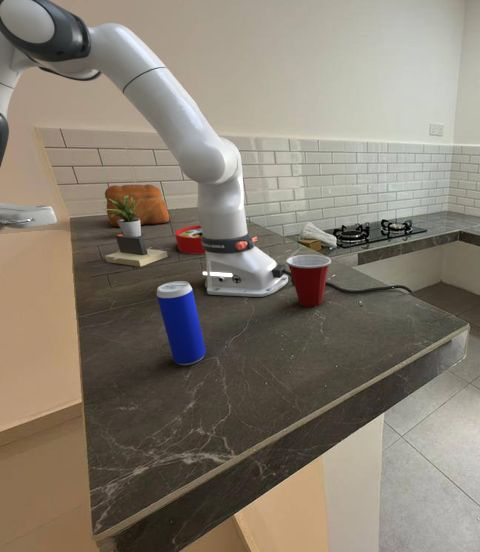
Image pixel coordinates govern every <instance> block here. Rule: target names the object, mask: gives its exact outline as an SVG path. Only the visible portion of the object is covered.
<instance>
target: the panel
mask: <svg viewBox="0 0 480 552" xmlns="http://www.w3.org/2000/svg"><path fill="white" fill-rule="evenodd" d="M152 248H153V246H150V247H148V248H146V249H147V253H148V254H146V255H137V254H130V253H123V252H120V249H118V250H117V251H116V252H113V253H111V254H107V255H104V258H105V262H106V263H112V264H120V265H127V266H132V267H133V266H134V267H144V266H146V265H150V264H152V263H155V262H157V261H160V260H163V259H166V258H168V257H169V255H168V251H167V250H161V249H152Z"/></svg>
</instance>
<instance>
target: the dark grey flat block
mask: <svg viewBox="0 0 480 552" xmlns="http://www.w3.org/2000/svg"><path fill="white" fill-rule="evenodd" d="M115 239H116V242H117V246H118V250H119V252H123V253H130V254H137V255H146V254H148V253H147V249H148V248H147V245H146V242H145V237H141V236H138V237H134V236H126V235H124V234H123V233H122V234H121V233H120V234H116V235H115Z"/></svg>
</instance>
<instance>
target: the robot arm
mask: <svg viewBox="0 0 480 552" xmlns="http://www.w3.org/2000/svg"><path fill="white" fill-rule="evenodd" d="M84 21H85V20H83V19H82V18H81V17H80V16H79V15H76V14H74V13H72V12H71V11H69V10H67V9H65V8H63V7H61V6H60V5H58V4H56V3H54V2H52V1H51V0H0V168H1V167H2V163H3V160H4V158H5V154H6V150H7V146H8V141H9V135H10V127H9V122H8V110H9V105H10V101H11V98H12V95H13V93H14V91H15V89H16V87H17V85H18V82H19V80H20V78H21V77H22V75H23V73H25V72H26V71H27V70H28V69H30V68H34V67H35V68H38V69H39V70H41V71H42V72H43V71H44V72H46V73H50V74H53V75H56V76H58V77H62V78H66V79H69V80H73V81H76V82H77V81H78V82H91V81H94V80H95V81H96V80H97V79H99V78H100V77H101V76H102V75H104V76H105V77H107V79H109V80H110V81H111V82H112V83H113V84H114V86H116V88H117V89H118V90H119V91H120V93H122V95H124V97H125V98H126V99H127V100H128V102H130V103H131V104H132V105H133V107H134V108H135V109H136V110H137V111H138V112H139V113H140V114H141V115H142V116H143V117H144V119H145V120H146V121H147V122H148V123H149V125H151V127H152V128H153V129H154V130H155V132H156V133H157V134H158V136H159V137H160V139H161V140H162V142H163V143H164V144H165V146H166V147H167V149H168V150H169V151H170V153H171V154H172V156H173V157H174V159H175V161H177V163H178V166H179V168H180V169H181V172H182V173H183V174H184V175H185V176H186V177H187V178H189V179H190V180H191V181H193V182H195V183H197V204H196V210H197V213H198V218H199V225H201V230H202V236H201V240H202V246H203V249H204V250H205V254H204V255H205V271H202V275H203V276H205V282H204V287H205V288H206V294H207V295H211V296H229V297H248V298H249V297H250V298H251V297H253V298H262V297H266V296H269V295H272V294H274V293H276V292H278V291H279V290H281V289H282V288H283V287H285V286H286V285H287V283H288V282H289V277H290V282H291V284H292V285H294V281H293V277H292V274H291V271H289V270H287V266H286V265H287V264H282V263H281V264H280V263H279V264H278V263H277V262H276V260H275V259H274V258H272V257H270V256H269V255H268V254H267V253H265V252H264V251H262V250H261V249H260V248H259V247H257V246H256V243H255V242H256V241H258V239H257V238H258V236H254V237H252V235H251V234H250V232H249V231H248V224H247V217H246V209H245V194H244V193H245V192H244V174H243V161H242V155H241V153H240V150H239V149H238V147H237V146H236V145H235V144H234V143H233V142H232V141H231V140H229V139H227V138H226V137H223V136H219V135H218V134H217V133H216V131H215V130H214V129H213V128H212V126H211V124H210V123H209V121H208V120H207V119H206V117H205V116H204V114H203V113H202V111H201V109H200V108H199V106H198V104H197V103H196V101H195V100H194V99H193V98H192V96H191V94H189V93H188V92H187V90H186V89H185V88H184V87H183V85H182V84H181V82H179V80H178V79H177V78H176V77H175V76H174V74H173V73H172V72H171V70H170V69H169V68H168V67H167V65H165V64H164V62H163V61H162V60H161V59H160V57H158V56H157V54H156V53H155V52H154V51H153V50H152V48H150V47H149V46H148V45H147V44H146V43H145V42H144V41H143V40H142V39H141V38H140V37H139V36H138V35H137V34H136V33H134V32H133V31H132V30H131V29H130V28H128V27H127V26H125V25H123V24H120V23H117V22H105V23H104V22H103V23H101V24H98V25H96V26H93V27H90V26H87V24H86V23H85V22H84ZM57 223H58V218H57V215H56V213H55V210H54V209H53V207H52V206H50V205H42V204H41V205H22V204H14V203H4V202H0V234H1V233H2V231H4V230H5V229H6V228H8V229H9V228H10V229H30V228H37V227H44V226H50V225H54V224H57ZM325 286H328V287H331V288H332V289H333V288H334V289H335V290H337V291H339V292H341V293H346V294H353V295H354V294H365V293H370V292H377V291H378V292H379V291H389V290H393V289H402V290H405V291H407V292H408V293H411V294H412V293H413V290H412V289H411V288H409V287H408V286H405V285H402V284H395V285H390V286H389V285H387V286H379V287H378V286H377V287H370V288H364V289H346V288H342V287H340V286H338V285H336V284H335V283H332V282H329V281H326V283H325ZM392 287H394V288H392Z"/></svg>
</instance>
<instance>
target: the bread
mask: <svg viewBox="0 0 480 552" xmlns="http://www.w3.org/2000/svg"><path fill="white" fill-rule="evenodd" d="M127 195H128V196H129V197H128V207H130V201H131V198H132V203H133V202H134V199H135V201H136V202H135V204H134V207H135V205H136V204H137V203H138V202H139V201H140V202H139V203H138V204H137V206H136V207H135V209H134V215H137V216H135V218H136V219H140V226H143V225H158V224H166V223H169V221H170V215H169V212H168V211H169V210H168V208H167V207H168V206H167V204H166V202H165V200H164V199H163V197H162V191H161V189H159V187H157V186H155V185H153V184H149V183H148V184H124V185H110V186H109V187H107V188H106V189H105V191H104V199H106V209H115V208H116V209H117V210H119V209H118V207H117V206H116V207H115V204H114V203H113V202H112V201H111V200H113V201H115V202H117V201H116V200H115V198H116V199H118V200H119V201H120V202H121V203H122V204H123V206H124V203H123V200H124V196H125V197H126V196H127ZM107 198H108V199H107ZM109 199H111V200H109ZM108 204H109V205H108ZM111 204H112V205H111ZM110 205H111V206H110ZM113 205H114V206H113ZM112 206H113V207H114V208H113V207H112ZM141 209H146V210H141ZM139 210H140V211H139ZM137 211H138V212H137ZM110 212H111V213H110ZM136 212H137V213H136ZM112 213H113V214H116V213H115V212H112V211H110V210H106V214H107V217H108V216H109V215H111V216H112ZM135 213H136V214H135ZM118 214H119V213H118ZM120 214H122V213H120ZM122 215H123V214H122ZM111 216H109V217H108V218H107V219H108V221H109V224H110V225H111V226H112V227H116V228H120V226H119V224H118V222H117V221H118V220H122V219H123V218H122V217H121V218H122V219H121V218H120V216H119V217H118V215H117V216H116V215H115V216H113V217H112V218H111ZM123 216H124V215H123Z"/></svg>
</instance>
